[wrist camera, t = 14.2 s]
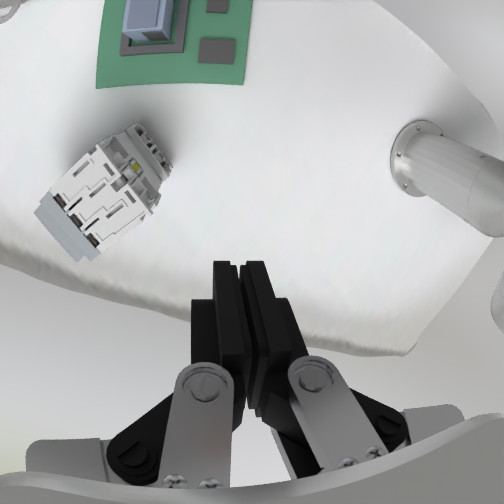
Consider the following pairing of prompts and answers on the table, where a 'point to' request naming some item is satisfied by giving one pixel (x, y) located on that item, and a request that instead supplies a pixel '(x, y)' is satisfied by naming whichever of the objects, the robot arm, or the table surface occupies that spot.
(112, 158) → the circuit breaker
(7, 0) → the network device
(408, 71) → the table surface
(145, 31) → the plug
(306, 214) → the table surface
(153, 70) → the board
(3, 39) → the table surface
